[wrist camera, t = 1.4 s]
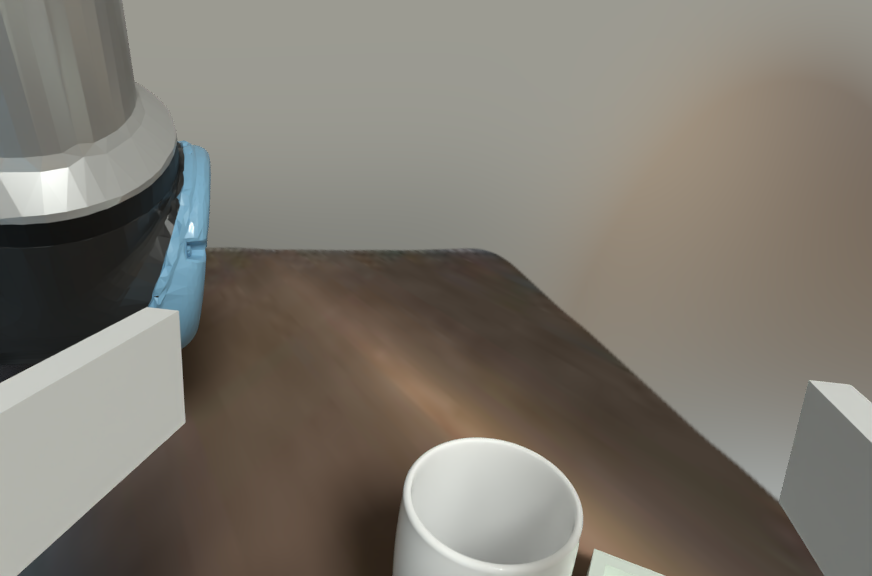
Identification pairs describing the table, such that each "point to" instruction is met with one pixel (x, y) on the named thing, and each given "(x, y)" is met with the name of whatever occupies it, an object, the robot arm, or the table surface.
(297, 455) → the table surface
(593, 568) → the tray
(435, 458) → the drinking glass
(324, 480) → the table surface
